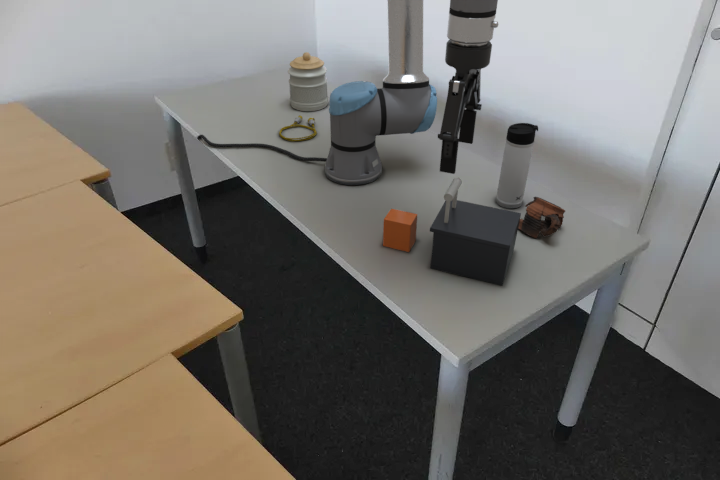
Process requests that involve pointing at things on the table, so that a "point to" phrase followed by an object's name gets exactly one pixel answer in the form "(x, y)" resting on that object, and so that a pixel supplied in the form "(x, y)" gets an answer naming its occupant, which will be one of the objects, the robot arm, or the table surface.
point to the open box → (471, 258)
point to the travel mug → (515, 164)
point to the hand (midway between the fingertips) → (456, 156)
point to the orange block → (399, 230)
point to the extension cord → (298, 120)
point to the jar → (308, 83)
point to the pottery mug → (534, 214)
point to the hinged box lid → (475, 220)
